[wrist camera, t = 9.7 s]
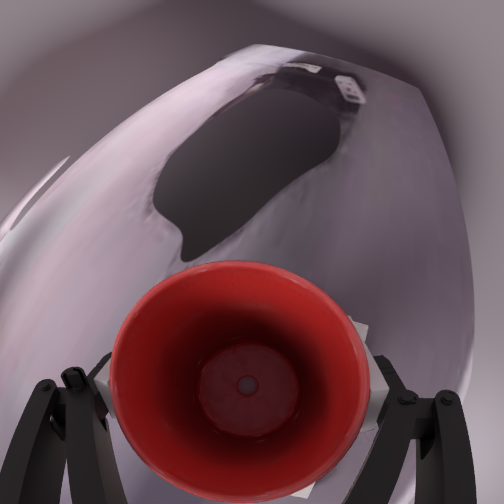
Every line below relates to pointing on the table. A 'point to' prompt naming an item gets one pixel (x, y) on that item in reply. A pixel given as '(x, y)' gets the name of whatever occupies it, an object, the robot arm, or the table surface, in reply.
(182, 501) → the table surface
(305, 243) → the table surface
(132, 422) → the flower pot
